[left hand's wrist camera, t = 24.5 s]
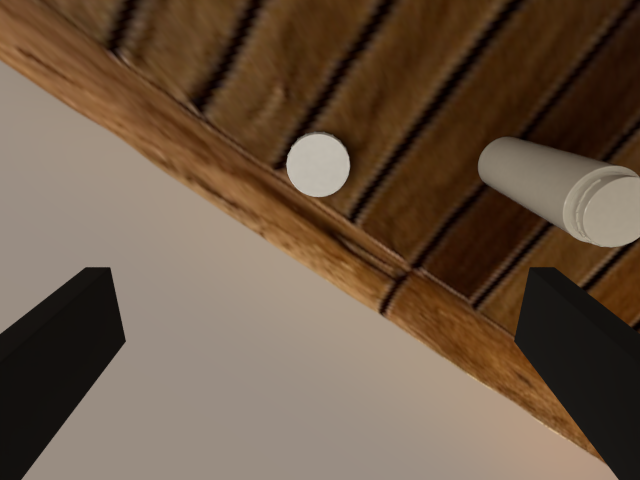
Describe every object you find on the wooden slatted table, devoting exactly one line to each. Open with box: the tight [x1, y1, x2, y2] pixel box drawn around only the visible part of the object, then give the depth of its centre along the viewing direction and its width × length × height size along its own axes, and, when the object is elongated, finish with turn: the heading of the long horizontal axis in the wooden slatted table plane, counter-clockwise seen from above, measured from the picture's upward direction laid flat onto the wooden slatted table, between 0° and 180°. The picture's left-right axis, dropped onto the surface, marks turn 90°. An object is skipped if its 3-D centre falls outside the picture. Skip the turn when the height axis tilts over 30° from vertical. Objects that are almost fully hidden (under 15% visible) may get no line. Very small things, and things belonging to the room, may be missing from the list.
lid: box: [286, 131, 350, 197], centre depth 37 cm, size 6×6×2 cm
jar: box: [478, 137, 640, 247], centre depth 30 cm, size 5×5×16 cm
